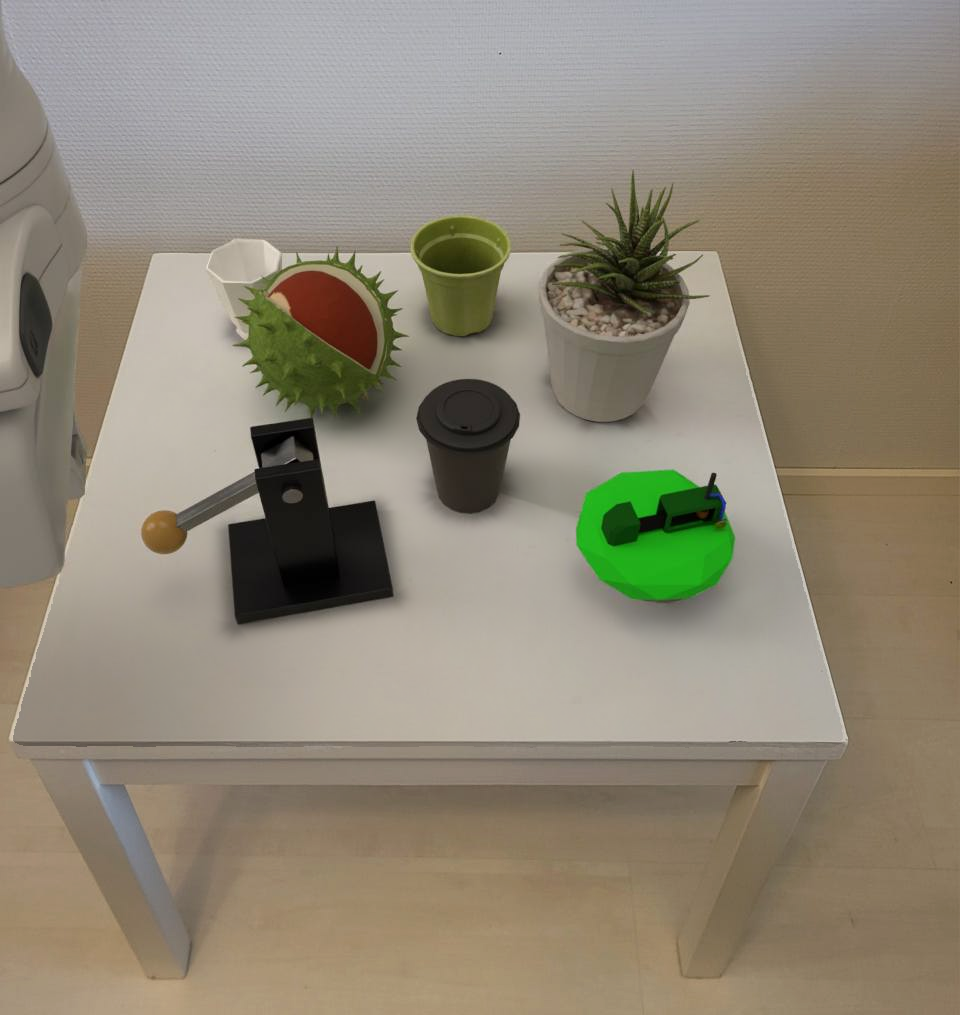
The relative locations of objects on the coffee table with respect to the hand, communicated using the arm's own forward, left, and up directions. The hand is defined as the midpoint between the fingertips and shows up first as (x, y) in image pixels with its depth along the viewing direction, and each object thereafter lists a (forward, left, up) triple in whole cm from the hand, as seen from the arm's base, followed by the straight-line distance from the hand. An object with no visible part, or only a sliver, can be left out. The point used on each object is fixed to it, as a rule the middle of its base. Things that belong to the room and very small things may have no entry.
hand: (68, 476), depth 44 cm
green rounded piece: (+35, +8, -29) cm, 46 cm away
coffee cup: (+23, +19, -29) cm, 42 cm away
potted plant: (+38, +28, -29) cm, 55 cm away
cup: (+7, +45, -29) cm, 54 cm away
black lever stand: (+9, +14, -29) cm, 33 cm away
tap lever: (+5, +14, -21) cm, 26 cm away
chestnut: (+13, +33, -29) cm, 46 cm away
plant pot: (+27, +41, -29) cm, 57 cm away
